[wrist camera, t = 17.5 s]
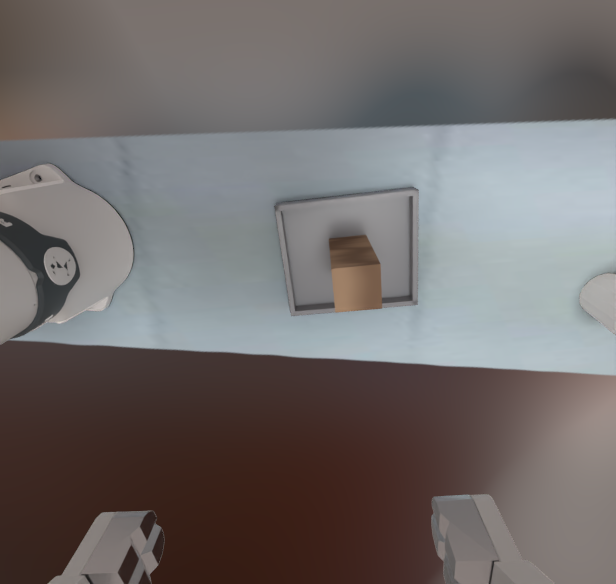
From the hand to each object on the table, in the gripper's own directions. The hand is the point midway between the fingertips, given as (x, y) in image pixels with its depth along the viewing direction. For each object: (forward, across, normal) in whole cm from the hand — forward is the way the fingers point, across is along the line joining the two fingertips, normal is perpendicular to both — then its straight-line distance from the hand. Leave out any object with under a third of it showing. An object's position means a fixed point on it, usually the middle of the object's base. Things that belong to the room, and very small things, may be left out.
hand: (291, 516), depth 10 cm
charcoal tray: (+35, -4, +3) cm, 35 cm away
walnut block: (+34, -4, +3) cm, 35 cm away
